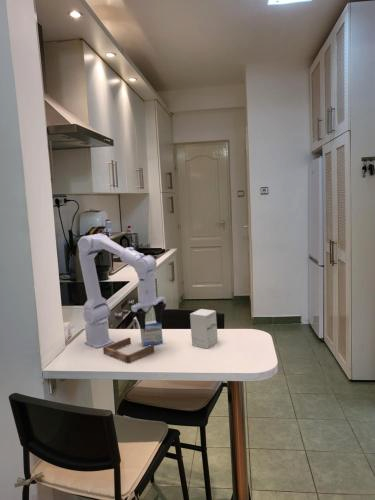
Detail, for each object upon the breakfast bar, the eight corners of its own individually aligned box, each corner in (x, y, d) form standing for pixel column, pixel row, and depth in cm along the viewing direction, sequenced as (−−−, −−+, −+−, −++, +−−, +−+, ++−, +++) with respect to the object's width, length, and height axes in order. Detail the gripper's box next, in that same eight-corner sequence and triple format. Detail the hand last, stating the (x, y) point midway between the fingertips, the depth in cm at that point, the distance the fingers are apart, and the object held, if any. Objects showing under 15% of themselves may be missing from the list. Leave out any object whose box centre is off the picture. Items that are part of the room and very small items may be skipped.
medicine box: (143, 347, 158) (141, 325, 157) (141, 343, 162) (139, 322, 161) (163, 343, 160) (161, 322, 159) (160, 339, 164) (159, 318, 163)
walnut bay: (103, 353, 154) (103, 347, 154) (129, 343, 162) (128, 337, 162) (128, 363, 143) (127, 356, 143) (154, 352, 152) (153, 345, 151)
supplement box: (207, 349, 151) (205, 316, 149) (191, 345, 155) (189, 313, 154) (218, 342, 157) (216, 310, 155) (202, 339, 161) (200, 308, 159)
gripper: (138, 295, 141) (142, 333, 143) (169, 286, 151) (172, 322, 153) (126, 293, 146) (130, 329, 148) (157, 284, 156) (160, 318, 158)
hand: (150, 325), depth 151 cm, fingers open, 7 cm apart
